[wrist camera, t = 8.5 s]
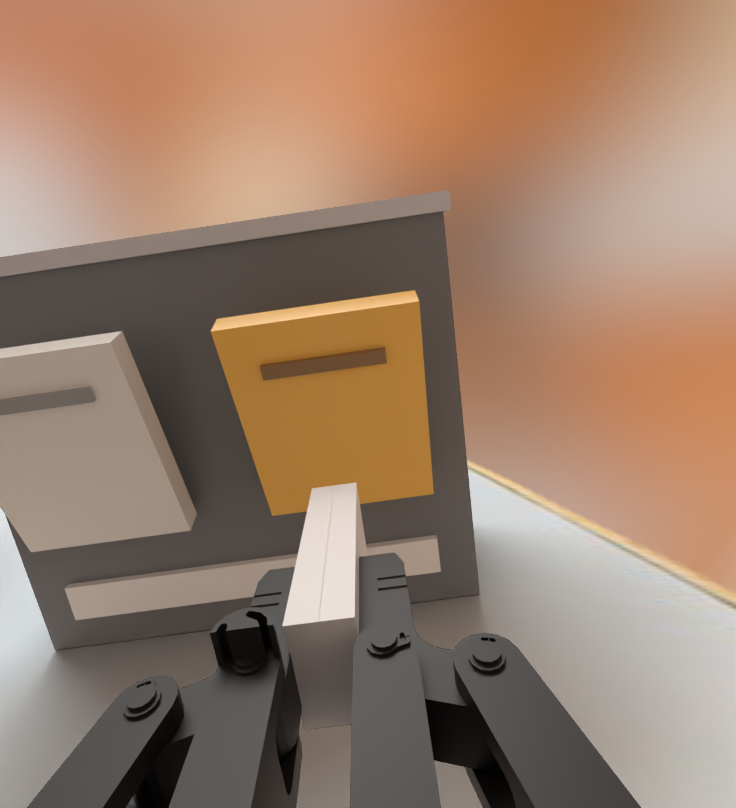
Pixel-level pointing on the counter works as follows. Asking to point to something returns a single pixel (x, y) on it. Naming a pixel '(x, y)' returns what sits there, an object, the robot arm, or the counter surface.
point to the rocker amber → (332, 397)
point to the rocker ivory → (84, 447)
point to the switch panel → (216, 412)
